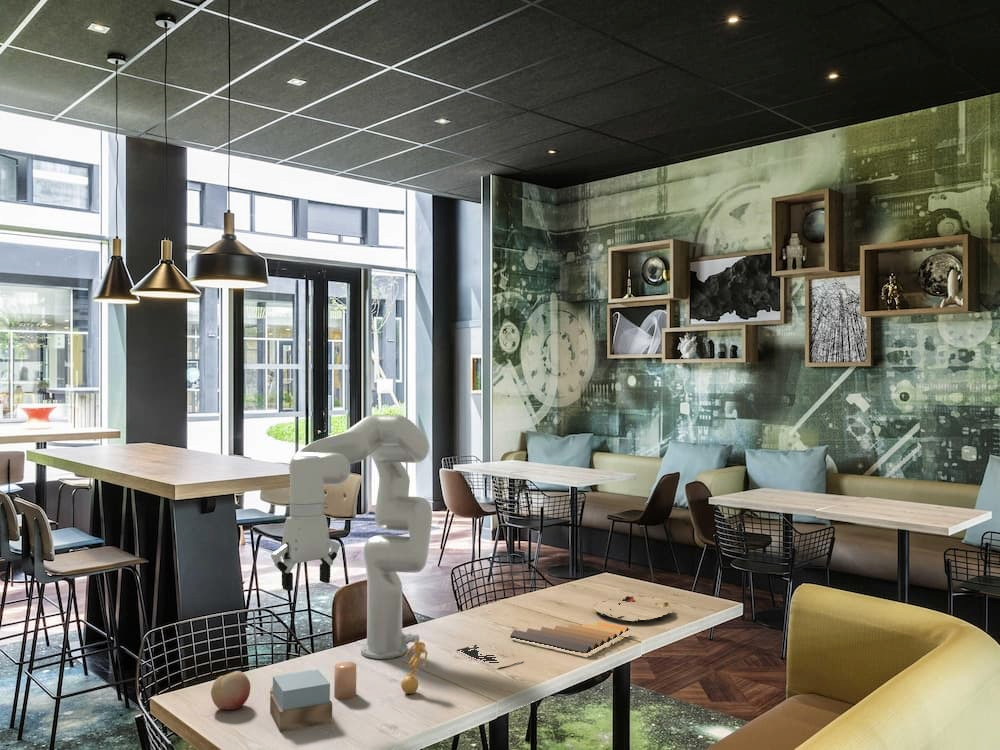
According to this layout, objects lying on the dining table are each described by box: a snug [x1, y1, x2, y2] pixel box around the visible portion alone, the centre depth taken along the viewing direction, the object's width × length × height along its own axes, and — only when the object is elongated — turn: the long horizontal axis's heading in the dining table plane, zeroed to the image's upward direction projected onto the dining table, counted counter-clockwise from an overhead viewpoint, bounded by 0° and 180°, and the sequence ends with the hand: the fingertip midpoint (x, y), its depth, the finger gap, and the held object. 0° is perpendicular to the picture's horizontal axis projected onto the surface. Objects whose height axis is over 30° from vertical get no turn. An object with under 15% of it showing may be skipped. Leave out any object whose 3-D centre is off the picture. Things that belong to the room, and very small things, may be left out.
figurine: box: [400, 640, 428, 695], centre depth 187 cm, size 8×6×12 cm
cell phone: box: [456, 644, 499, 663], centre depth 213 cm, size 9×18×1 cm, turn 40°
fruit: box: [210, 670, 251, 711], centre depth 178 cm, size 8×8×8 cm
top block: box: [272, 668, 331, 710], centre depth 173 cm, size 10×10×4 cm
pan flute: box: [510, 621, 630, 653], centre depth 229 cm, size 25×3×25 cm
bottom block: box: [269, 693, 333, 733], centre depth 173 cm, size 11×11×4 cm
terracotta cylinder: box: [333, 661, 357, 701], centre depth 185 cm, size 5×5×7 cm
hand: (306, 586), depth 180 cm, fingers open, 9 cm apart
